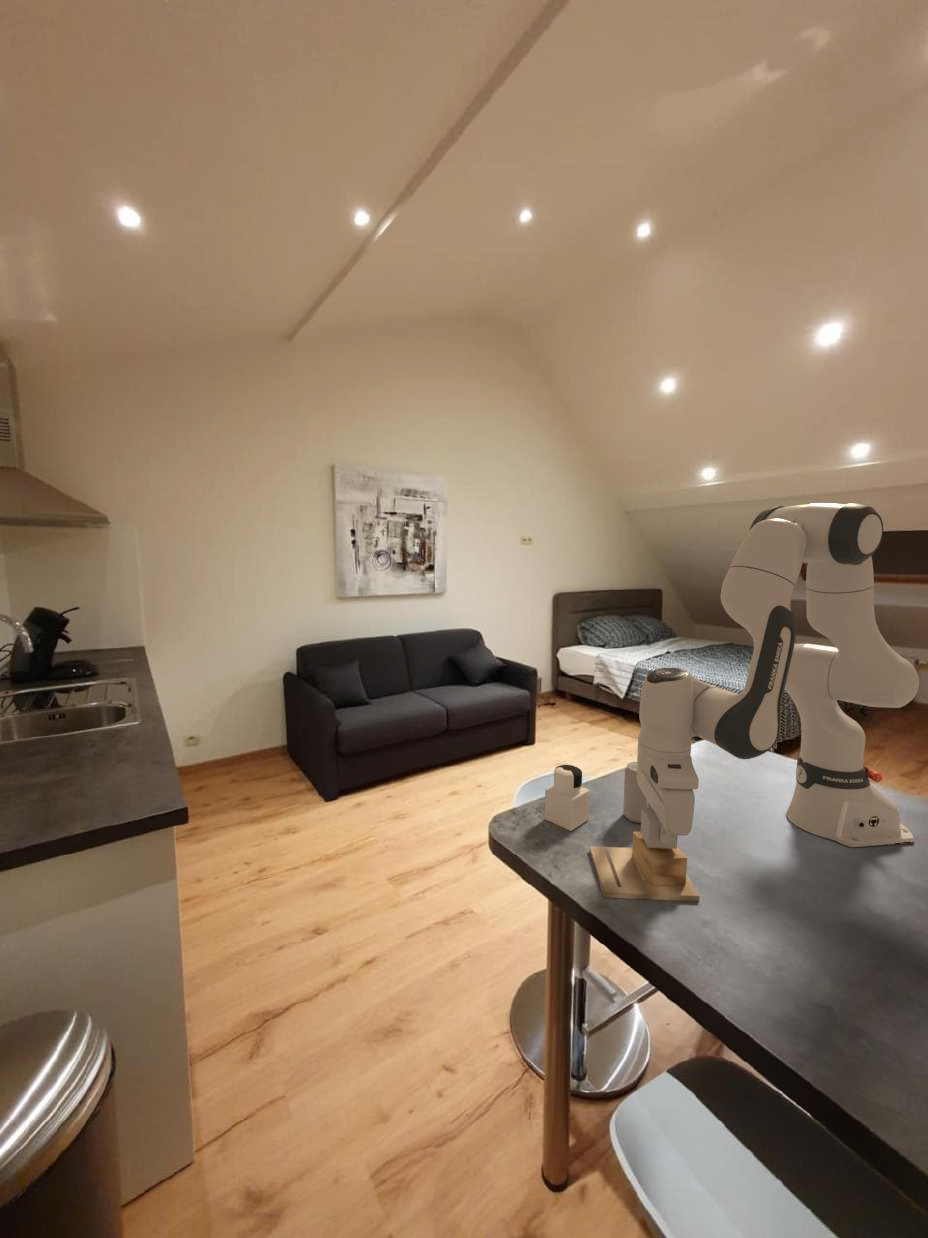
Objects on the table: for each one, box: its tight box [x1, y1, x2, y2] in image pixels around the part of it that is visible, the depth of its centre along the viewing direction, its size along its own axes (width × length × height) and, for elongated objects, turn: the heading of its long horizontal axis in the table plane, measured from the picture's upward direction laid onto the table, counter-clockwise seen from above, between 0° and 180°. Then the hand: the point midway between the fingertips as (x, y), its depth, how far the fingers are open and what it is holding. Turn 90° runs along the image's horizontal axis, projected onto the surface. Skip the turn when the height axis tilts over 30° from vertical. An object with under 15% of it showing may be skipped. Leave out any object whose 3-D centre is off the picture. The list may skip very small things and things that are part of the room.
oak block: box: [631, 830, 688, 886], centre depth 96 cm, size 6×9×5 cm, turn 5°
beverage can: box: [622, 761, 648, 824], centre depth 117 cm, size 6×6×12 cm
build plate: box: [589, 845, 700, 902], centre depth 97 cm, size 16×14×1 cm
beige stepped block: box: [544, 764, 591, 832], centre depth 116 cm, size 7×7×12 cm
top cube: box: [640, 808, 679, 849], centre depth 95 cm, size 5×5×5 cm
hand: (659, 832), depth 95 cm, fingers closed on top cube, 5 cm apart
